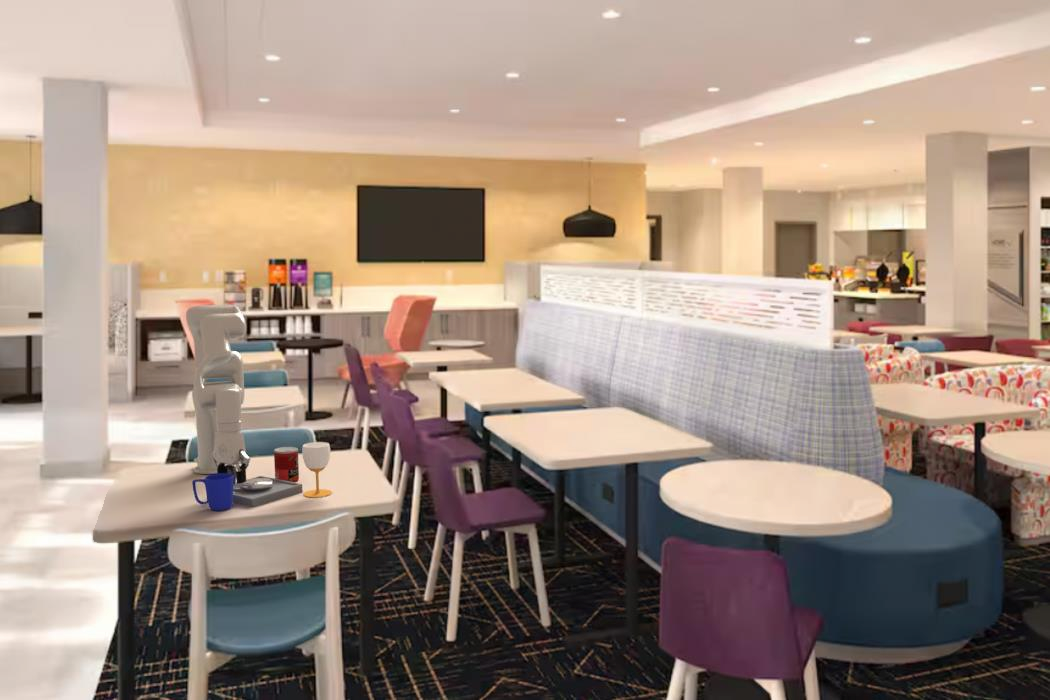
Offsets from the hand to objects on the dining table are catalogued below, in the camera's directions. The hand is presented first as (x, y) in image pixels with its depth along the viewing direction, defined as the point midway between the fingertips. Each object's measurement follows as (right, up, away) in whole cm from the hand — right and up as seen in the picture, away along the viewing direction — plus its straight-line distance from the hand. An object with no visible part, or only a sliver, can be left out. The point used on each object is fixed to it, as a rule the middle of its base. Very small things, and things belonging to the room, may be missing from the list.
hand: (231, 480), depth 279 cm
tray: (+7, -5, +4) cm, 9 cm away
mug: (-2, -7, -11) cm, 13 cm away
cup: (+26, -5, +5) cm, 27 cm away
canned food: (+12, -3, +21) cm, 24 cm away
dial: (+5, -2, +4) cm, 6 cm away
